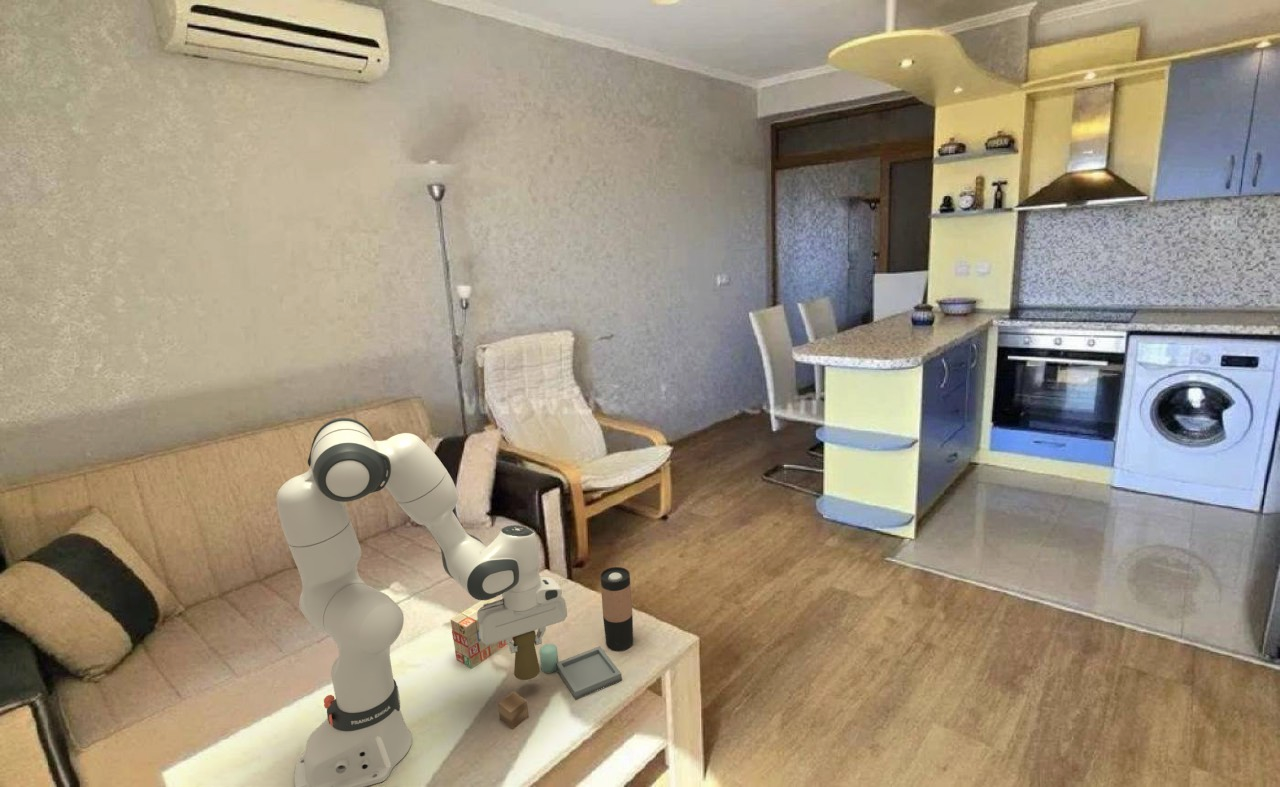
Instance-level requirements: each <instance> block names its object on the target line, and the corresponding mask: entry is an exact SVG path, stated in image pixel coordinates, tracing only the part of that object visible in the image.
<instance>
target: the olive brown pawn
mask: <svg viewBox="0 0 1280 787" xmlns="http://www.w3.org/2000/svg"><path fill="white" fill-rule="evenodd" d="M536 634H537V633H536V630H534V631H531V632H528V633H524V634H521V635H518V636H515V637H513V640H512V642H514V643H515V645H517V646H518V648H517V649H518V652H515V653H514V654H515V655H514V667H513V670H514V671H513V675H514V677H515V679H517V680H520V681H530V680H532V679H535V678H536V677H537V676H538V675H539V674H540V672H541V666H540V665H539V659H538V655H537V650H536V645H535V644H534V641H535V638H536Z"/></svg>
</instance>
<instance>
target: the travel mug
mask: <svg viewBox="0 0 1280 787" xmlns="http://www.w3.org/2000/svg"><path fill="white" fill-rule="evenodd" d="M600 587H601V590H600V591H601V607H602V617H603V618H602V619H603V627H604V628H603V629H604V630H603V631H604V637H605V645H606V647H607V648H608V650H610V651H613V652H622V651H623V652H624V651H627V650H628V649H630V648H631V647H632V646H633V643H634V627H633V626H634V625H633V622H634V621H633V616H634V615H633V603H632V589H631V575H630V571H629V570H628V569H626V568H624V567H622V566H614V567H609V568H606V569H604V570H603V571H602V572H601V573H600Z"/></svg>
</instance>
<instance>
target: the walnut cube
mask: <svg viewBox="0 0 1280 787" xmlns="http://www.w3.org/2000/svg"><path fill="white" fill-rule="evenodd" d="M497 707H498V708H497V709H498V714H499V721H501V722H502V723H503V724H505V725H506V726H507V727H508V728H510V729H511V730H514V729H515V728H516V727H517V726H519V725H520V724H522V723H523V722H524V721H526V720H527V719H529V709H528V700H527V699H525V698H524V697H522V696H521V695H520V694H518V693H517V692H515V691H513V692H512V693H510V694H509V695H507V696H506V697H505V698H503V699H502V700H500V701H499V702H497Z"/></svg>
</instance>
